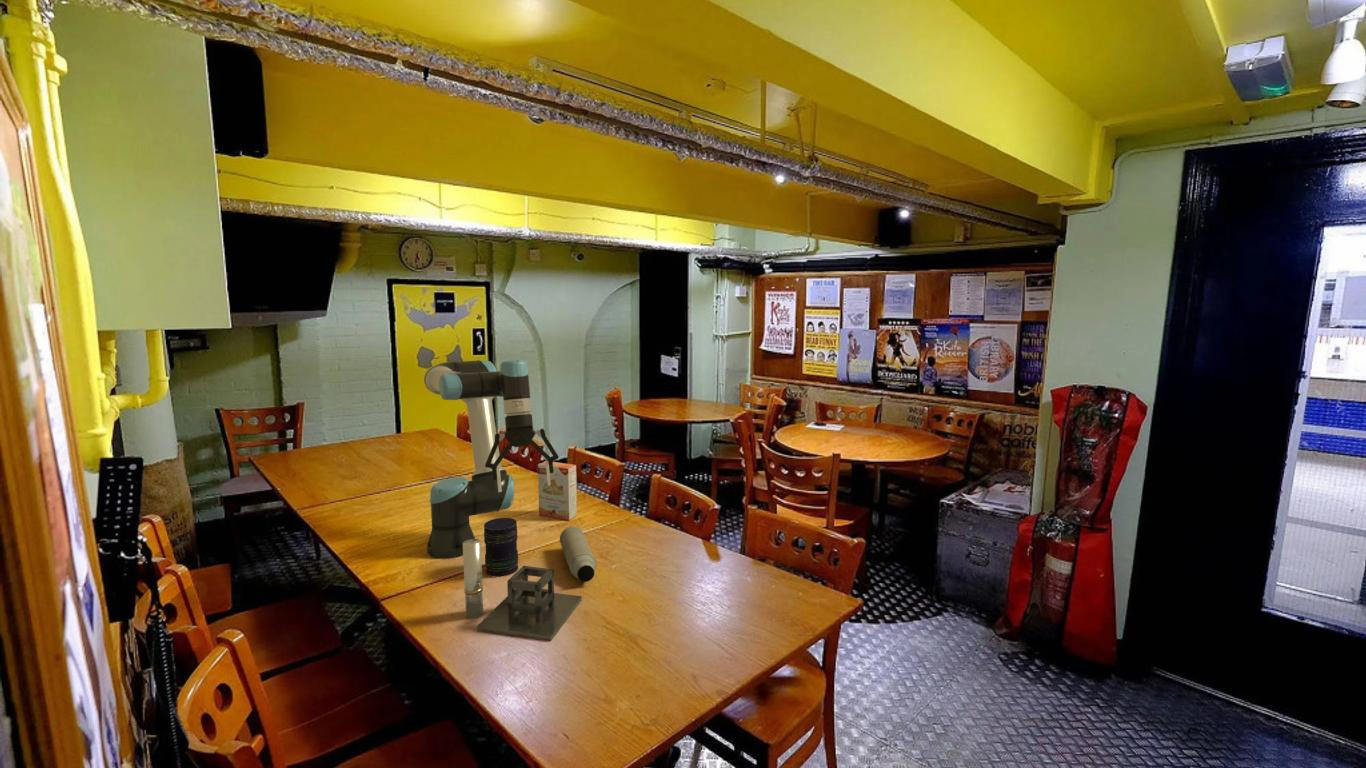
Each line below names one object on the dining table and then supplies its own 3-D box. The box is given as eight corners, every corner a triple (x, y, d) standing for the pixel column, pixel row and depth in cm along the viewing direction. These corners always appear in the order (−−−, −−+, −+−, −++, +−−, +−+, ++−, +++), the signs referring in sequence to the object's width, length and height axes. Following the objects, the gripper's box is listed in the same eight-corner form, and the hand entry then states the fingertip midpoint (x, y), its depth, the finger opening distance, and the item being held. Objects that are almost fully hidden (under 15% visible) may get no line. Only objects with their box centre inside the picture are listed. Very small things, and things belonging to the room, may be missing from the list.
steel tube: (461, 617, 151) (458, 544, 148) (471, 608, 155) (468, 537, 152) (477, 619, 150) (474, 546, 147) (487, 610, 154) (484, 539, 151)
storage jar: (500, 580, 171) (498, 532, 169) (478, 571, 176) (476, 525, 174) (525, 567, 179) (524, 521, 177) (503, 559, 185) (502, 515, 182)
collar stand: (477, 630, 144) (475, 588, 143) (515, 592, 164) (514, 555, 162) (550, 640, 140) (550, 598, 139) (581, 600, 160) (581, 562, 158)
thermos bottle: (587, 530, 194) (604, 566, 168) (576, 551, 194) (592, 590, 168) (566, 522, 191) (580, 557, 165) (555, 544, 191) (567, 582, 165)
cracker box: (538, 516, 223) (536, 463, 220) (547, 511, 228) (546, 460, 225) (568, 521, 217) (567, 468, 214) (577, 516, 223) (576, 464, 220)
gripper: (471, 418, 157) (477, 496, 157) (563, 409, 164) (570, 483, 164) (473, 418, 165) (479, 492, 164) (561, 410, 171) (568, 480, 171)
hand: (524, 488), depth 164 cm, fingers open, 13 cm apart
